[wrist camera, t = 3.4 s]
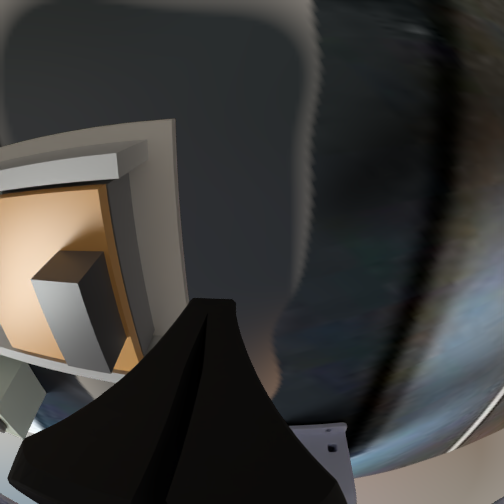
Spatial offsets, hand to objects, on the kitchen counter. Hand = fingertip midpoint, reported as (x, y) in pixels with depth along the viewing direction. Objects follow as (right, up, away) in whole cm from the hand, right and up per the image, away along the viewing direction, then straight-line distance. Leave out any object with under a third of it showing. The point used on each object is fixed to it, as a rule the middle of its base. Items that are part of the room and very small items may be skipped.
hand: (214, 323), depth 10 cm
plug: (-19, -8, +10) cm, 23 cm away
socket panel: (-13, +2, +4) cm, 14 cm away
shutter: (-8, +1, +1) cm, 8 cm away
